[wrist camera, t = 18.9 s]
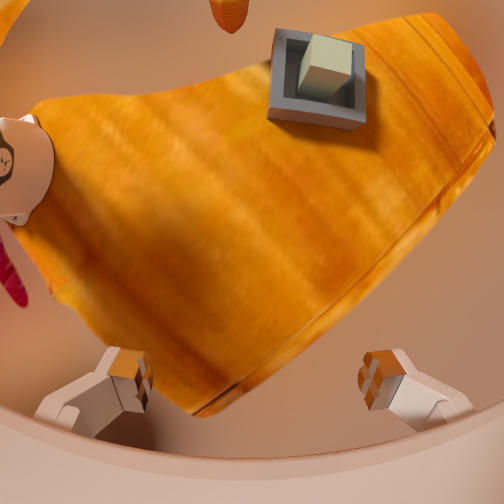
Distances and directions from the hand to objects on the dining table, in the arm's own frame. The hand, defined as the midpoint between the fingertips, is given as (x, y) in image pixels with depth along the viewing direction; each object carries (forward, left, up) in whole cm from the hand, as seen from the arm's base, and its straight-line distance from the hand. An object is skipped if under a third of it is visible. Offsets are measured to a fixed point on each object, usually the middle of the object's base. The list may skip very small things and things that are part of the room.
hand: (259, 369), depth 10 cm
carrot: (-5, +31, -30) cm, 43 cm away
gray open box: (+7, +23, -29) cm, 38 cm away
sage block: (+7, +23, -28) cm, 37 cm away
